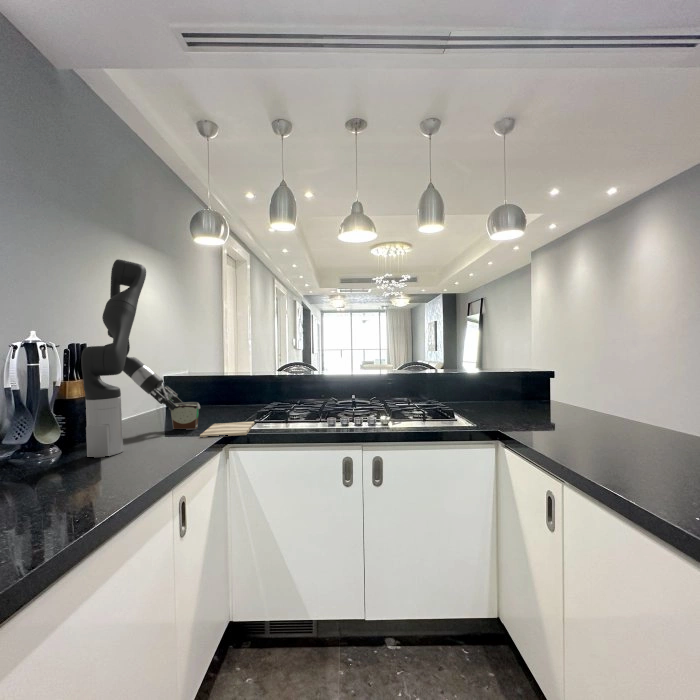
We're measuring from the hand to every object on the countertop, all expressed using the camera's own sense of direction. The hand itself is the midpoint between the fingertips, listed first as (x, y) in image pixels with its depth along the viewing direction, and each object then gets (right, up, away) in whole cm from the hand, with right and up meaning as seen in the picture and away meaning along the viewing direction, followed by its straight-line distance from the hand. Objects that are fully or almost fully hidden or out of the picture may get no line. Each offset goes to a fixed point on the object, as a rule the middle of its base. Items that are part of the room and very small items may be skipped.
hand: (178, 406), depth 157 cm
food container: (+4, -9, 0) cm, 9 cm away
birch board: (+23, -8, -8) cm, 25 cm away
